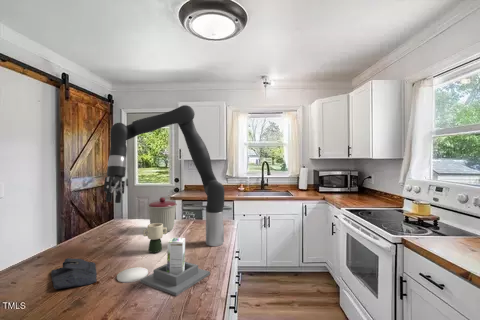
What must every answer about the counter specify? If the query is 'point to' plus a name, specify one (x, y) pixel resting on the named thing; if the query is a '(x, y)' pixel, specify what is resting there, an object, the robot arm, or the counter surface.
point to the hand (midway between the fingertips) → (113, 202)
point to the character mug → (155, 236)
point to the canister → (162, 213)
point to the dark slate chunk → (74, 274)
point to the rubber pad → (132, 275)
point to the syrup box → (176, 256)
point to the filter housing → (175, 278)
